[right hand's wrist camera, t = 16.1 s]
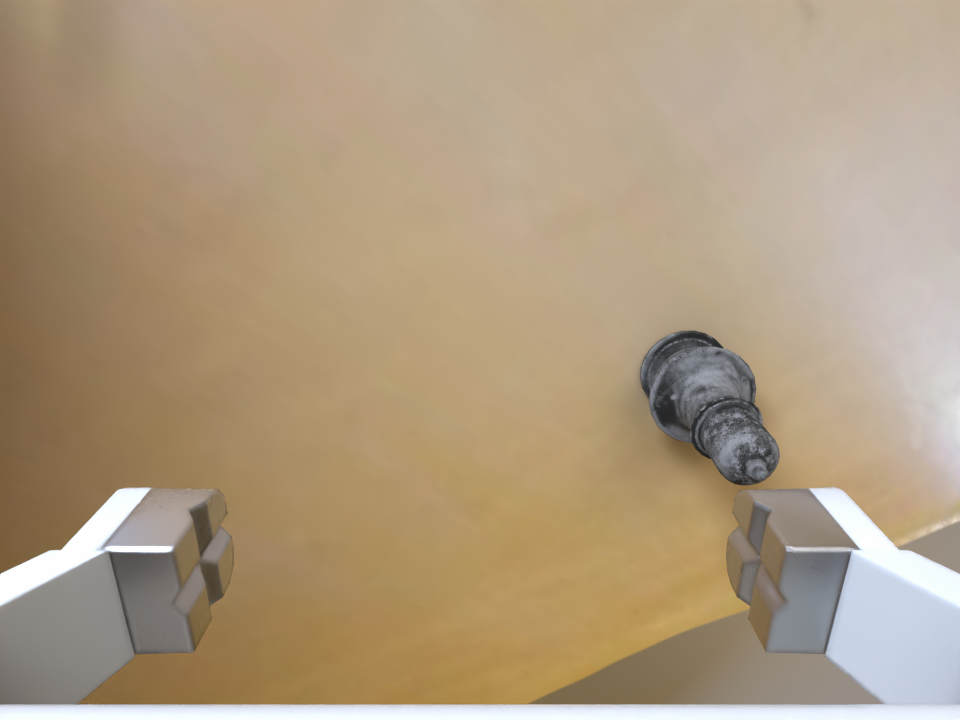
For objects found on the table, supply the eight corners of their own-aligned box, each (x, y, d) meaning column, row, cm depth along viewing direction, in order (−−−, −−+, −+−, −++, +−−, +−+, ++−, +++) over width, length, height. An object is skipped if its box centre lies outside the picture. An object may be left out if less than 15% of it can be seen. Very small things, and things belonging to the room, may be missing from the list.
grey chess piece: (753, 362, 40) (861, 466, 28) (686, 432, 41) (763, 555, 30) (681, 306, 38) (764, 392, 27) (615, 381, 40) (667, 490, 29)
